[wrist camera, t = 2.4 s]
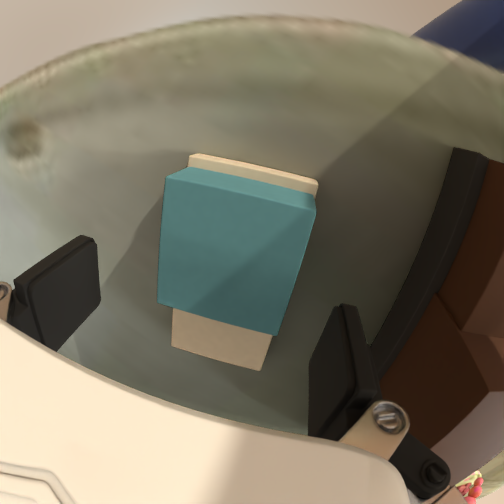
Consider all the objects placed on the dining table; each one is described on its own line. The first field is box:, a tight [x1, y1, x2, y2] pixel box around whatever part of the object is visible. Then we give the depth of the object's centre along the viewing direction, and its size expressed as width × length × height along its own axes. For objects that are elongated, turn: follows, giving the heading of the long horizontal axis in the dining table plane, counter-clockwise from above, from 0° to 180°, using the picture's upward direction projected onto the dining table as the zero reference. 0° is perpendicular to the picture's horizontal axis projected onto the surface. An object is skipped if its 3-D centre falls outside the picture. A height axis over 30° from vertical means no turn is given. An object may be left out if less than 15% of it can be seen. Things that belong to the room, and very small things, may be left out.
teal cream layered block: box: [157, 153, 318, 371], centre depth 14 cm, size 12×6×4 cm, turn 168°
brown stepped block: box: [370, 147, 504, 487], centre depth 12 cm, size 24×9×9 cm, turn 168°
